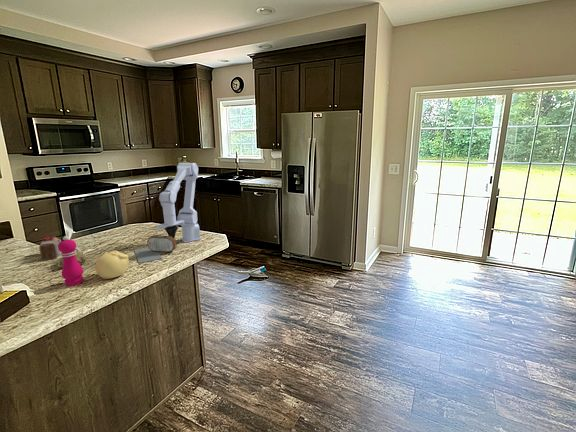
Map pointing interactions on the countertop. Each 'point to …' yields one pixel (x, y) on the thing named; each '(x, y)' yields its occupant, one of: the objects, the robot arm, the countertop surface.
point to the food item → (49, 248)
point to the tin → (161, 243)
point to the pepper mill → (70, 262)
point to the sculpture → (111, 264)
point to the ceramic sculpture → (79, 257)
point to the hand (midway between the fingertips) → (172, 239)
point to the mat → (147, 255)
